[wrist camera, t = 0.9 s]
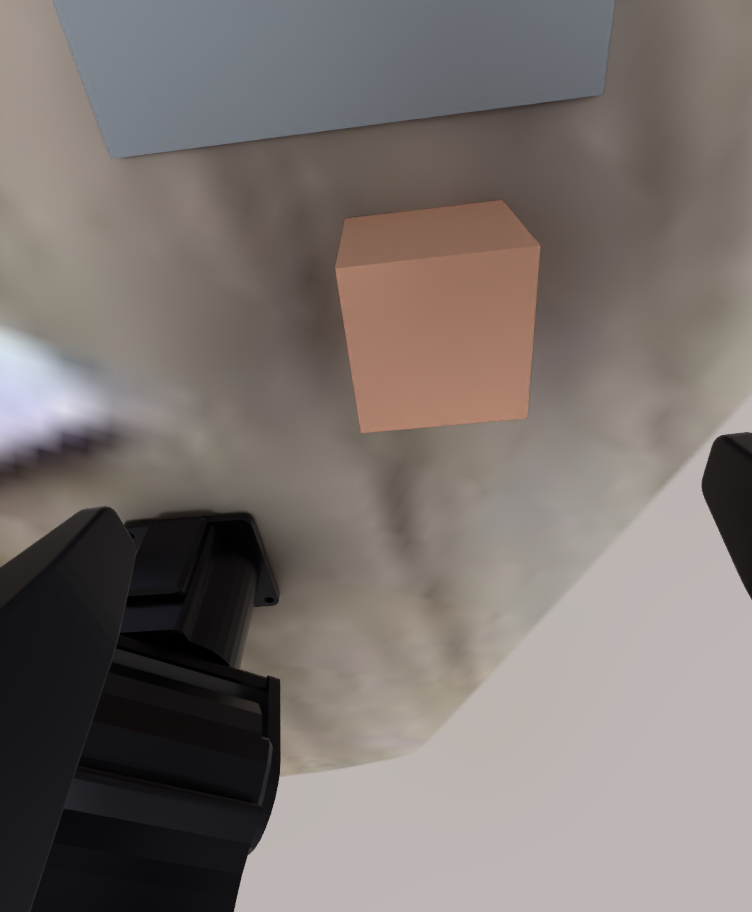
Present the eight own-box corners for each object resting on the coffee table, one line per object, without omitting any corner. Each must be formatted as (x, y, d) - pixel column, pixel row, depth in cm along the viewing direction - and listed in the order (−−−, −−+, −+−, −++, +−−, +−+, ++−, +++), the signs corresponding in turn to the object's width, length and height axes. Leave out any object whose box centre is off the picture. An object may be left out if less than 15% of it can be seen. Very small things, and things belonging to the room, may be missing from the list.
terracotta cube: (497, 344, 20) (527, 418, 16) (364, 357, 20) (360, 433, 16) (502, 199, 17) (540, 245, 13) (345, 218, 17) (335, 268, 13)
